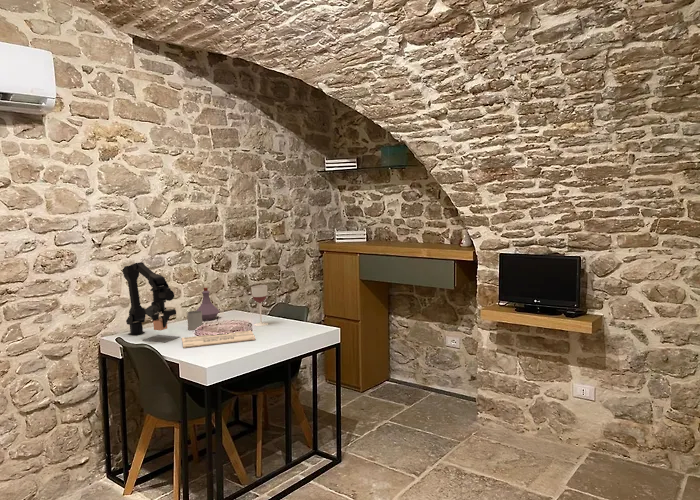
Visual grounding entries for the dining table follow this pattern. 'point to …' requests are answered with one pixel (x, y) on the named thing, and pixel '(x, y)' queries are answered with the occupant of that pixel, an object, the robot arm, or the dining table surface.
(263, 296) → the wineglass
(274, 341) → the dining table surface
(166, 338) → the mat
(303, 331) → the dining table surface
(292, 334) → the dining table surface
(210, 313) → the flask
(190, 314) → the cup
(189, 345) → the wooden board
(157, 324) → the block
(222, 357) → the dining table surface
